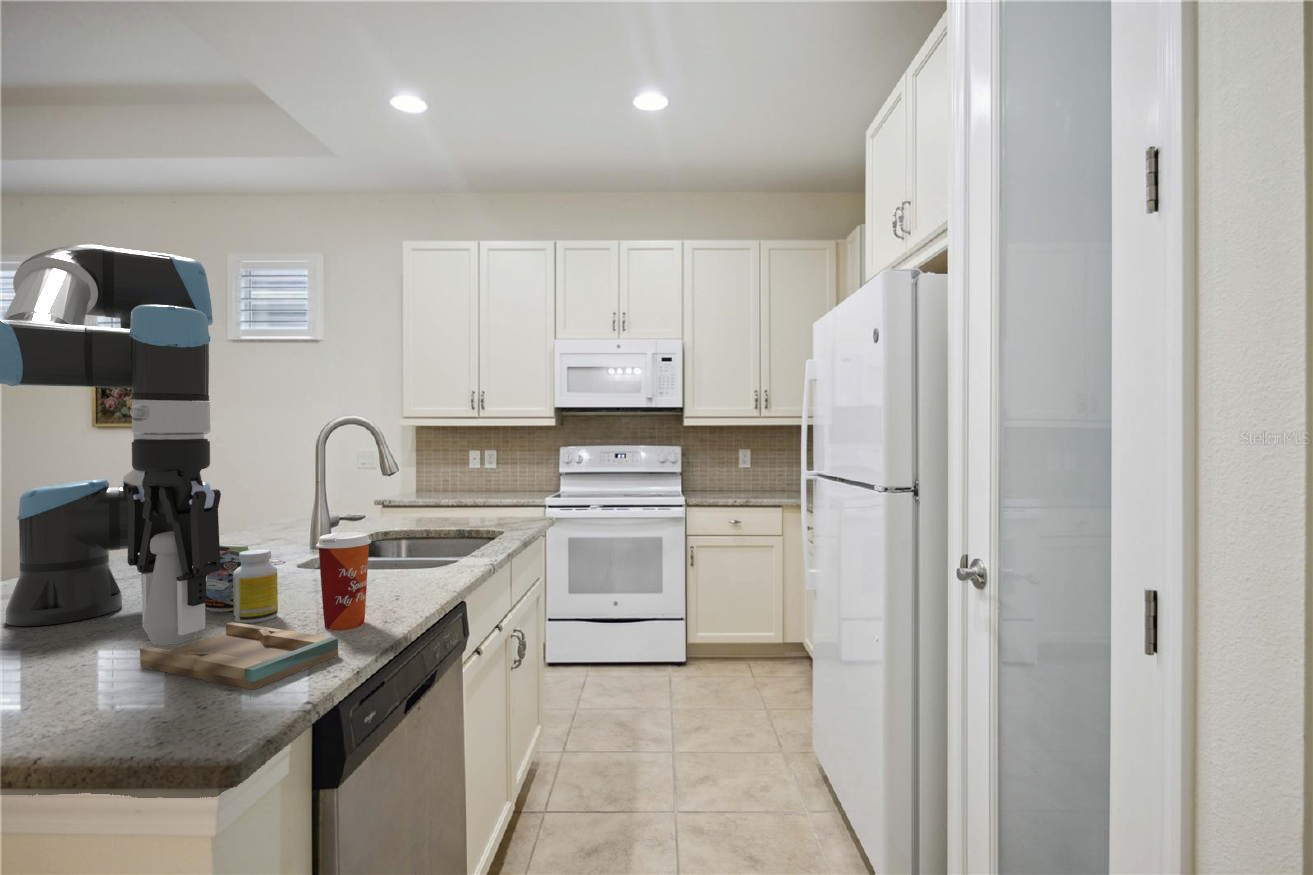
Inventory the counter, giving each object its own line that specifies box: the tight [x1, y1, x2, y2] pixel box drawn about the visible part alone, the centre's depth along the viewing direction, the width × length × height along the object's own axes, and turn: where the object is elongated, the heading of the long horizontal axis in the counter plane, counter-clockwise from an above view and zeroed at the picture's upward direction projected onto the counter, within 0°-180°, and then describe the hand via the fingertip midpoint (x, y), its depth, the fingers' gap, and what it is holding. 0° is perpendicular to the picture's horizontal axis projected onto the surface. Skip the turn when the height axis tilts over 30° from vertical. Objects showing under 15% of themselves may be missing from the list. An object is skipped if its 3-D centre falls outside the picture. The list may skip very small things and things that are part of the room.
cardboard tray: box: [139, 621, 339, 691], centre depth 91 cm, size 22×13×2 cm, turn 69°
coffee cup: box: [315, 531, 372, 631], centre depth 107 cm, size 8×8×15 cm
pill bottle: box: [233, 548, 279, 624], centre depth 111 cm, size 6×6×12 cm
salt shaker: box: [142, 531, 198, 646], centre depth 78 cm, size 6×6×13 cm
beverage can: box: [205, 543, 250, 612], centre depth 116 cm, size 6×7×12 cm
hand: (173, 627), depth 78 cm, fingers closed on salt shaker, 6 cm apart
